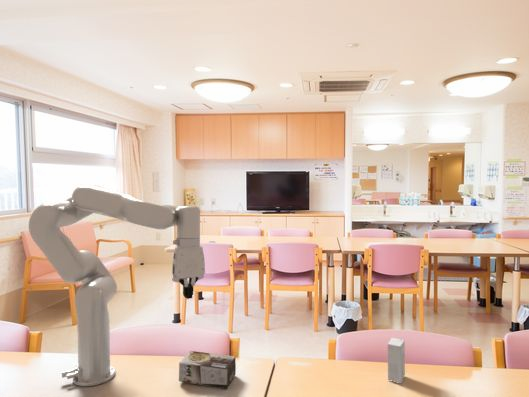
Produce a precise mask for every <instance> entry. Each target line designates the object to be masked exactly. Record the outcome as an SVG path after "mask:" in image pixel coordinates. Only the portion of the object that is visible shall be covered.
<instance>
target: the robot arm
mask: <svg viewBox="0 0 529 397" xmlns="http://www.w3.org/2000/svg"><path fill="white" fill-rule="evenodd" d="M93 214H97V215H102V216H106V217H109V218H113V219H118V220H121V221H124V222H128V223H131V224H134V225H138V226H140V227H141V226H142V227H146V228H150V229H156V230H166V229H168V228H171V227H176V239H175V240H172V245H175V247H174V252H173V258H172V264H171V266H172V269H171V274H172V282H173V283H180V285H182V293H183V294H182V295H183V297H184V298H185V299H186V300H189V299H193V295H194V286H195V285H196V283H197V282H198V281H199V280H202V279H204V277H205V276H204V275H205V273H206V266H205V265H206V264H205V263H206V262H205V254H204V249H203V248H204V247H203V246H201V209H200V207H199V206H196V205H182V206H181V205H180V206H177V205H171V204H170V205H169V204H164V205H160V204H155V203H151V202H147V201H142V200H139V199H137V198H135V197H133V196H131V195H130V194H128V193H124V192H119V191H115V190H110V189H106V188H103V187H102V186H99V185H95V184H94V185H93V184H84V185H79V186H78V187H76V188H75V189H74V190H73V192H72V194H71V197H69V198H67V199H66V200H63V201H51V202H50V201H49V202H45V203H42V204H40V205H38V206H37V207H36V208H34V210H33V212H32V213H31V215H30V216H29V219H28V232H29V234H30V237H31V239H32V241H33V242H34V243H35V245H36V246H37V247H38V249H39V250H40V251H41V252H42V253H43V255H44V256H45V258H46V259H47V261H48V262H49V263H50V264H51V266H52V267H53V268H54V270H55V271H56V272H57V274H58V276H59V277H60V278H61V279H62V281H64V282H65V283H68V284H77V283H81V284H82V285H81V286H80V287H79V288H78V290H77V291H76V293H75V295H74V296H75V297H74V308H75V312H76V313H75V314H76V322H77V323H76V324H77V327H76V328H77V363H76V364H75V367H72V369H67V370H63V371H61V378H62V379H63V378H66V379H67V380H70V379H72V383H73V384H74V385H76V386H78V387H93V386H97V385H100V384H104V383H106V382H108V381H110V380H112V378H113V377H115V374H116V369H115V367H114V366H112V365H111V342H110V341H111V340H110V339H111V338H110V337H111V334H110V330H111V329H110V328H111V327H110V315H109V308H108V303H109V302H110V301H111V300H112V299H113V298H114V297H115V295H116V294H117V290H118V285H117V282H116V280H115V278H114V277H113V275H112V274H111V273H110V271H109V270H108V269H107V266H105V264H104V263H103V261H101V259H100V257H98V256H97V255H96V253H94V252H92V251H90V250H85V249H81V250H78V248H77V247H76V245H74V243H73V242H72V240H71V239H70V237H68V236H67V234H65V233H64V232H63V231H62V230H61V228H62V227H63V228H64V227H68V226H72V225H73V224H76V223H78V222H79V221H82V220H83V219H85V218H86V217H90V216H91V215H93Z"/></svg>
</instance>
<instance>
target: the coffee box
mask: <svg viewBox="0 0 529 397" xmlns="http://www.w3.org/2000/svg"><path fill="white" fill-rule="evenodd" d="M236 358H237V357H236V356H233V355H225V354H217V353H211V352H202V351H195V350H194V351H193V350H190V351H189V352H188V353H187V354H186V355H185V356H184V358H182V359H181V361H180V362H179V363H178V364H179V365H178V381H179V382H181V383H187V384H192V385H193V384H194V385H199V386H206V387H210V388H211V387H212V388H218V389H226V390H228V389H229V387H230V384H231V383H232V381H233V380H234V378H235V376H236V371H237V370H236V369H237V368H236V367H237V365H236Z"/></svg>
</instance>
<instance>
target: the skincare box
mask: <svg viewBox="0 0 529 397" xmlns="http://www.w3.org/2000/svg"><path fill="white" fill-rule="evenodd" d="M405 357H406V353H405V339H401V338H395V337H390V340H389V341H388V343H387V381H388V380H392V381H395V382H398V383H397V384H399V383H401V384H402V383H403V382H404V379H405V376H406V374H405V372H406V371H405V370H406V368H405V367H406V363H405V362H406V359H405ZM404 375H405V376H404ZM403 378H404V379H403ZM395 382H394V383H395Z"/></svg>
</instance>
